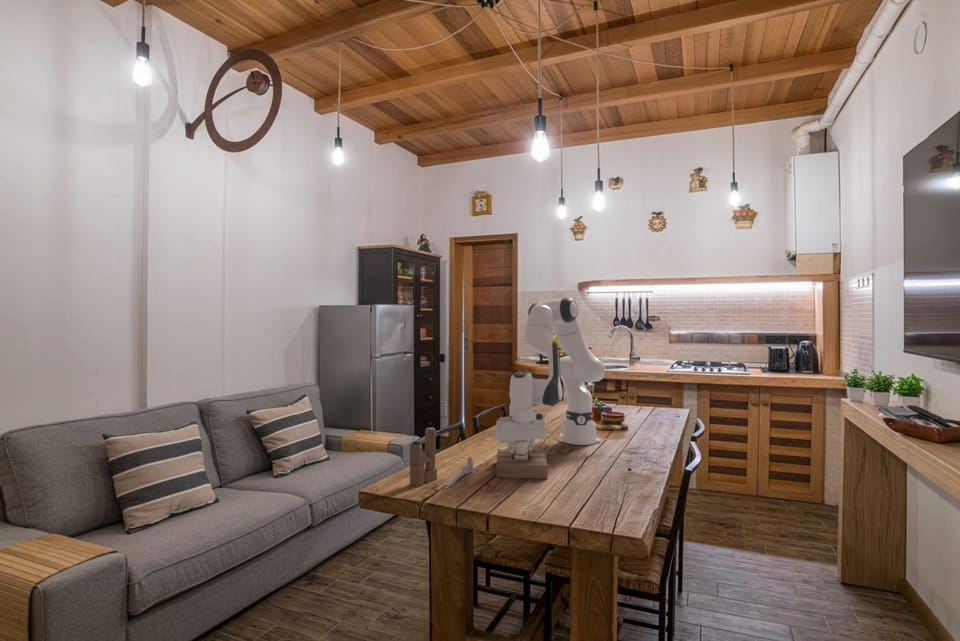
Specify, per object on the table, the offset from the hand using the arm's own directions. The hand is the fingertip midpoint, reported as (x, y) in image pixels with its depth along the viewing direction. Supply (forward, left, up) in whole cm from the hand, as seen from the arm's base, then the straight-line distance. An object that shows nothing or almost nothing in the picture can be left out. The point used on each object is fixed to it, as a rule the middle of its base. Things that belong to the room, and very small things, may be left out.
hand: (521, 452), depth 191 cm
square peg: (0, 0, -6) cm, 6 cm away
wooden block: (+16, -34, -7) cm, 38 cm away
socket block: (0, 0, -7) cm, 7 cm away
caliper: (+13, -22, -7) cm, 27 cm away
